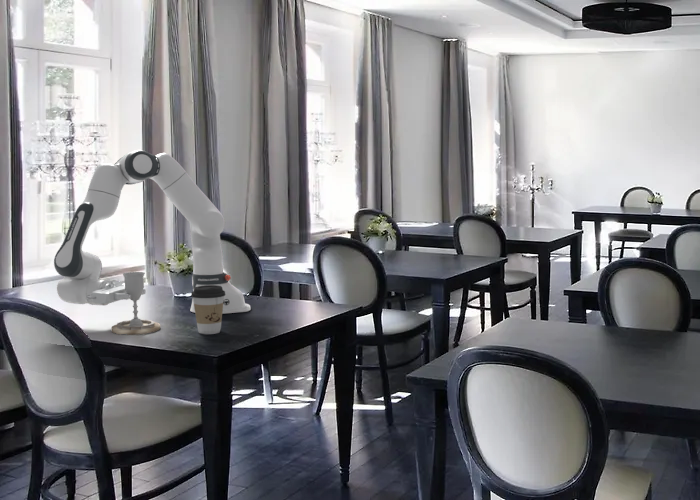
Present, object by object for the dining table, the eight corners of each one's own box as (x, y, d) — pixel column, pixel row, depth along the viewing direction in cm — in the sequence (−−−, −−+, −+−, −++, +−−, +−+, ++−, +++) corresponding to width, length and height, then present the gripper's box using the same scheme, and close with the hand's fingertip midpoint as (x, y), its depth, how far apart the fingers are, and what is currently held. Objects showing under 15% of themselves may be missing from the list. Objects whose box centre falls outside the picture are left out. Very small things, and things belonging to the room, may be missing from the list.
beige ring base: (160, 323, 297) (160, 317, 296) (160, 333, 281) (160, 326, 281) (113, 326, 293) (112, 319, 293) (110, 336, 278) (109, 329, 277)
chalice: (149, 323, 290) (146, 271, 288) (145, 327, 284) (142, 274, 282) (127, 324, 290) (125, 272, 288) (122, 328, 283) (120, 275, 281)
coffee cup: (201, 337, 275) (200, 291, 273) (186, 331, 284) (184, 287, 282) (232, 332, 281) (231, 287, 279) (216, 326, 290) (215, 283, 289)
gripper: (82, 288, 279) (119, 290, 275) (117, 278, 299) (152, 280, 294) (83, 307, 280) (120, 309, 276) (118, 296, 299) (153, 298, 295)
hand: (137, 294), depth 285 cm, fingers open, 8 cm apart
